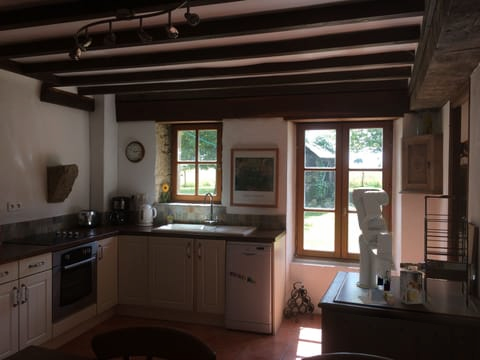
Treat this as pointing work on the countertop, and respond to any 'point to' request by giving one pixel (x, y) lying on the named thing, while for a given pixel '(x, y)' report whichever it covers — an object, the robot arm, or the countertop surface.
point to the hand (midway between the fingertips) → (383, 288)
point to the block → (375, 294)
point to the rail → (388, 297)
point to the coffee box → (411, 287)
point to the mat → (367, 300)
